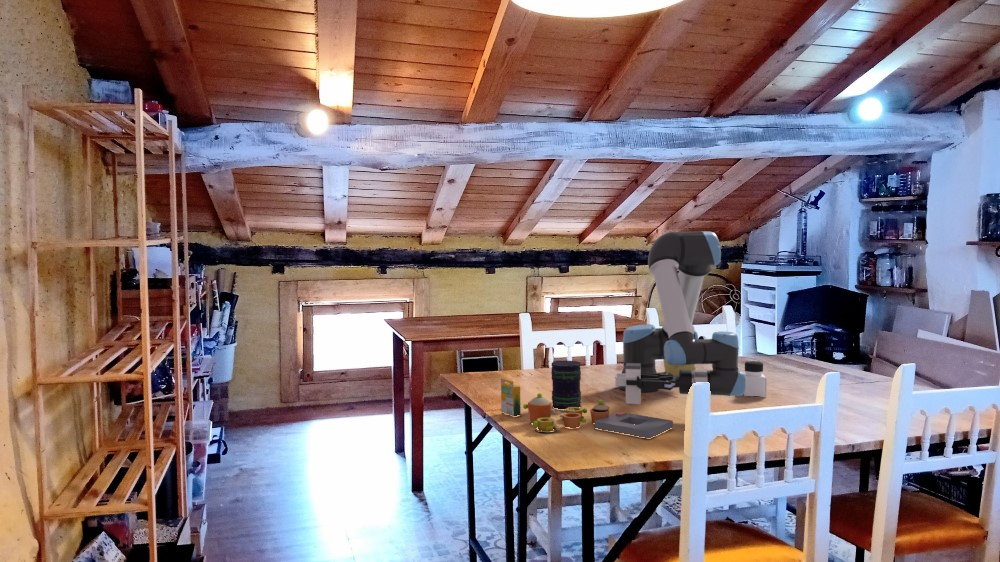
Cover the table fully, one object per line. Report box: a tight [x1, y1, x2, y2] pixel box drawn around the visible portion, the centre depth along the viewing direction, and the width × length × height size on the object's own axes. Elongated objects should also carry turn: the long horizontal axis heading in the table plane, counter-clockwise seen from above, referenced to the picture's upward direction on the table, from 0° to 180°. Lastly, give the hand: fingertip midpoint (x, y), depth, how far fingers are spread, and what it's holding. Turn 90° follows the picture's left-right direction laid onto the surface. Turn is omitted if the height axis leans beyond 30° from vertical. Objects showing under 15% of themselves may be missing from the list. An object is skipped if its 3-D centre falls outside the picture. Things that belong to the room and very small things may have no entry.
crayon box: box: [500, 378, 521, 416], centre depth 221 cm, size 7×3×12 cm, turn 32°
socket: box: [594, 411, 674, 438], centre depth 202 cm, size 18×14×3 cm
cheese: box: [663, 359, 697, 376], centre depth 281 cm, size 10×11×10 cm
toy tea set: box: [522, 392, 610, 432], centre depth 209 cm, size 26×16×10 cm, turn 110°
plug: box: [625, 363, 642, 405], centre depth 217 cm, size 4×4×12 cm
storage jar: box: [550, 360, 582, 409], centre depth 229 cm, size 10×10×15 cm
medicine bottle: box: [743, 360, 767, 398], centre depth 241 cm, size 7×7×12 cm
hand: (616, 379), depth 218 cm, fingers closed on plug, 4 cm apart
